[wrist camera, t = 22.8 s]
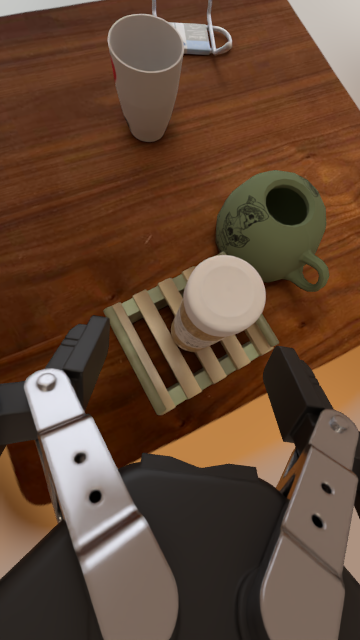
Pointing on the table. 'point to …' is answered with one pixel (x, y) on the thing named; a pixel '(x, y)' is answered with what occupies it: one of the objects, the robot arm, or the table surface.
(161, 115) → the cup
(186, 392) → the drying rack
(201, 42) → the wall mount rack
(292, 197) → the olive green ceramic pot
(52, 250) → the table surface
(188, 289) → the sprinkles bottle
